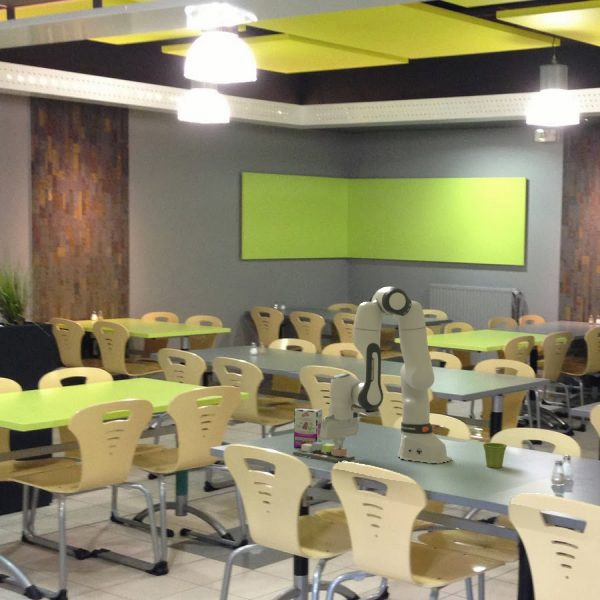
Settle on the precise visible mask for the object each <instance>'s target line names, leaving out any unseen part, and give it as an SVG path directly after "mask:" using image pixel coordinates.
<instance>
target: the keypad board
mask: <svg viewBox="0 0 600 600" xmlns="http://www.w3.org/2000/svg"><path fill="white" fill-rule="evenodd" d="M293 454H294V456H298V455H301V456H300V457H303V456H307V457H306V458H308V457H311V458H310V459H314V458H316V459H315V460H319V459H321V460H320V461H324V460H325V461H324V462H330V461H331V463H336V462H338V461H343V460H349V461H352V460H355V459H356V458H355V457H356V455H350V454H347V455H345V456H342V458H337V456H335V455H333V452H332V453H331V454H327V453H326V452H325V451H322V450H321V452H316V450H315V451H312V452H310V453H309V452H305V451H301V449H299V450H295V451H292V455H293ZM336 464H337V463H336Z"/></svg>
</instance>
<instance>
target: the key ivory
mask: <svg viewBox="0 0 600 600" xmlns="http://www.w3.org/2000/svg"><path fill="white" fill-rule="evenodd" d="M300 450H301V451H305V452H309V453H310V452H312V451H315V450H314V449H312V444H308V443H307V444H302V445H301V448H300Z"/></svg>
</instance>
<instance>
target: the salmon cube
mask: <svg viewBox="0 0 600 600" xmlns="http://www.w3.org/2000/svg"><path fill="white" fill-rule="evenodd" d="M347 452H348V451H347V448H341V449H335V448H334V449H333V455H335V456H337V458H340V459H341V458H342V456H345V455H348V453H347Z"/></svg>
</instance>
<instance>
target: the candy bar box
mask: <svg viewBox="0 0 600 600" xmlns="http://www.w3.org/2000/svg"><path fill="white" fill-rule="evenodd" d="M293 418H294V419H293V433H294V434H293V448H296V449H301V445H302V444H307V443H308V444H312V443H314V442H323V441H322V440H323V439H321V438H320V430H321V424H322V421H323V410H322V409H313V408H312V409H311V408H300V407H298V408H295V409H294V413H293Z"/></svg>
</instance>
